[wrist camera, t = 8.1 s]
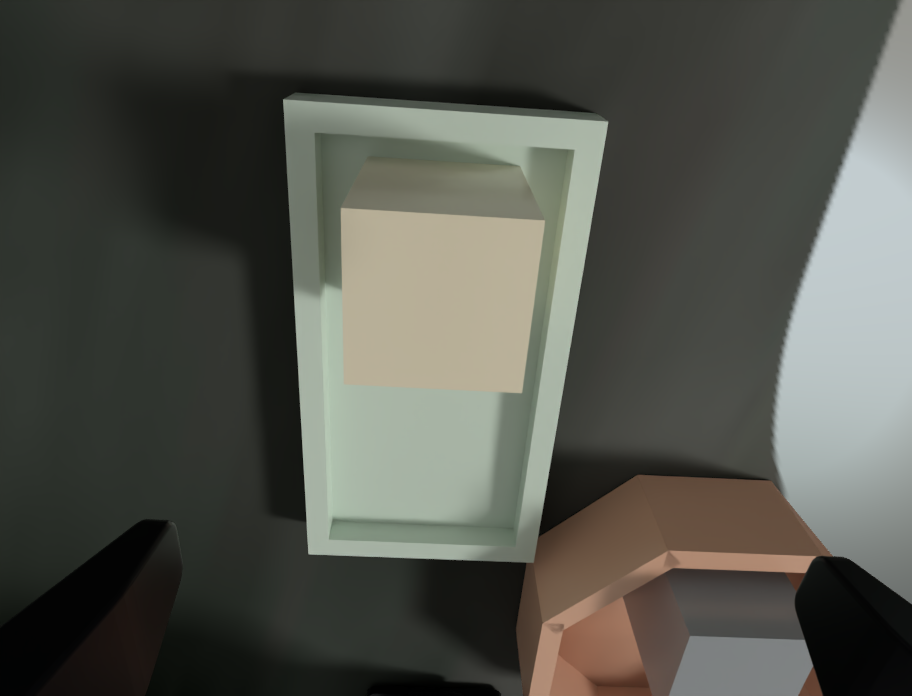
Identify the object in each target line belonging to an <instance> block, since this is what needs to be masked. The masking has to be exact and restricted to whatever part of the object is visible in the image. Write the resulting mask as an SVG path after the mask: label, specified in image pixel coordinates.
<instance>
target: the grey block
mask: <svg viewBox="0 0 912 696" xmlns="http://www.w3.org/2000/svg"><path fill="white" fill-rule="evenodd" d="M795 594H796V590H795V589H794V587H793V585H792V584H791V582H790V580H789V579H788V577H787V575H786V574H785V572H766V571H740V570H713V569H687V568H672V569H670V570H668V571H667V572H665V573H663V574H661V575H660V576H658V577H656V578H654V579H653V580H651V581H649V582H647V583H646V584H644V585H642V586H640V587H638V588H637V589H635V590H633V591H631V592H630V593H628V594H626V595H624V596H623V600H624V603H625V606H626V610H627V613H628V616H629V620H630V623H631V626H632V630H633V633H634V636H635V640H636V643H637V646H638V650H639V653H640V657H641V660H642V663H643V667H644V670H645V673H646V677H647V680H648V683H649V687H650V690H651V693H652V696H798V695H799V693H800V691H801V689H802V687H803V685H804V683H805V681H806V679H807V677H808V675H809V673H810V671H811V669H812V667H813V664H812V661H811V658H810V655H809V652H808V649H807V646H806V643H805V639H804V636H803V633H802V630H801V627H800V624H799V621H798V618H797V615H796V611H795V604H794V602H795Z"/></svg>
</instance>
